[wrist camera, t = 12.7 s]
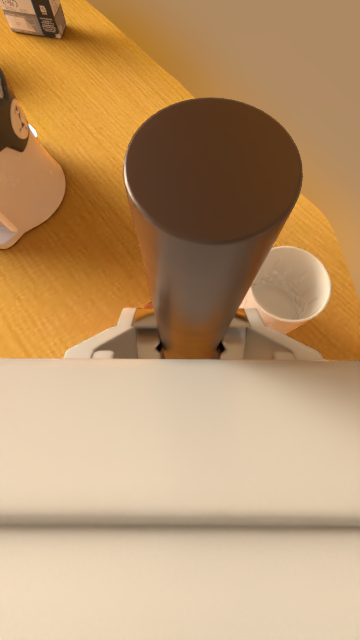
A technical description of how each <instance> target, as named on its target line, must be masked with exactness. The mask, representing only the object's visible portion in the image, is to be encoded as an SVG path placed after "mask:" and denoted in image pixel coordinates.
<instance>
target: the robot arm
mask: <svg viewBox="0 0 360 640" xmlns="http://www.w3.org/2000/svg"><path fill="white" fill-rule="evenodd" d="M36 136H37V134H36V132H35V130H34V129H33V128H32V127H31V126H30V125H29V124H28V122H27V119H26V117H25V114H24V112H23V110H22V108H21V106H20V104H19V102H18V100H17V98H16V96H15V94H14V92H13V90H12V88H11V86H10V84H9V83H8V81H7V79H6V77H5V75H4V74H3V72H2V70H1V69H0V249H7V248H9V247H11V246H12V245H13V244H15V243H16V242H17V241H18V239H19V238H20V237H21V236H22V235H23V234H24V233H25V232H27V231H29V230H30V229H32V228H34V227H36V226H38V225H40V224H41V223H43V222H44V221H45V220H47V219H48V218H49V217H50V216H51V215H52V214H53V213H54V212H55V211H56V210H57V208H58V207H59V205H60V203H61V201H62V199H63V197H64V193H65V187H66V181H65V176H64V172H63V170H62V168H61V166H60V165H59V164H58V162H57V161H56V160H55V159H54V158H53V157H52V156H51V155H50V154H49V153H48V152H47V151H46V150H45V148H44V147H43V146H42V145H41V143H40V142H39V140H38V139H37V138H36ZM216 351H217V353H218V359H162V355H161V352H162V343H161V339H160V335H159V330H158V326H157V322H156V317H155V313H154V309H153V308H123V310H122V313H121V315H120V318H119V321H118V323H117V326H112V327H110V328H108V329H106V330H104V331H102V332H100V333H99V334H97V335H95V336H93V337H91V338H89V339H87V340H85V341H83V342H81V343H79V344H77V345H75V346H74V347H72V348H70V349H68V350H67V351H66V353H65V355H64V357H63V358H0V640H360V360H325V359H324V358H323V356H322V355H321V354H320V352H319V351H317V350H315V349H313V348H311V347H309V346H307V345H305V344H303V343H301V342H299V341H297V340H295V339H293V338H291V337H289V336H287V335H285V334H283V333H281V332H279V331H277V330H275V329H273V328H271V327H266V326H265V324H264V322H263V320H262V318H261V316H260V314H259V312H258V310H257V309H256V308H247V309H244V308H239V309H238V310H237V312H236V314H235V316H234V318H233V320H232V321H231V323H230V325H229V327H228V329H227V331H226V333H225V334H224V336H223V338H222V340H221V342H220V344H219V345H218V347H217V349H216Z"/></svg>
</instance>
